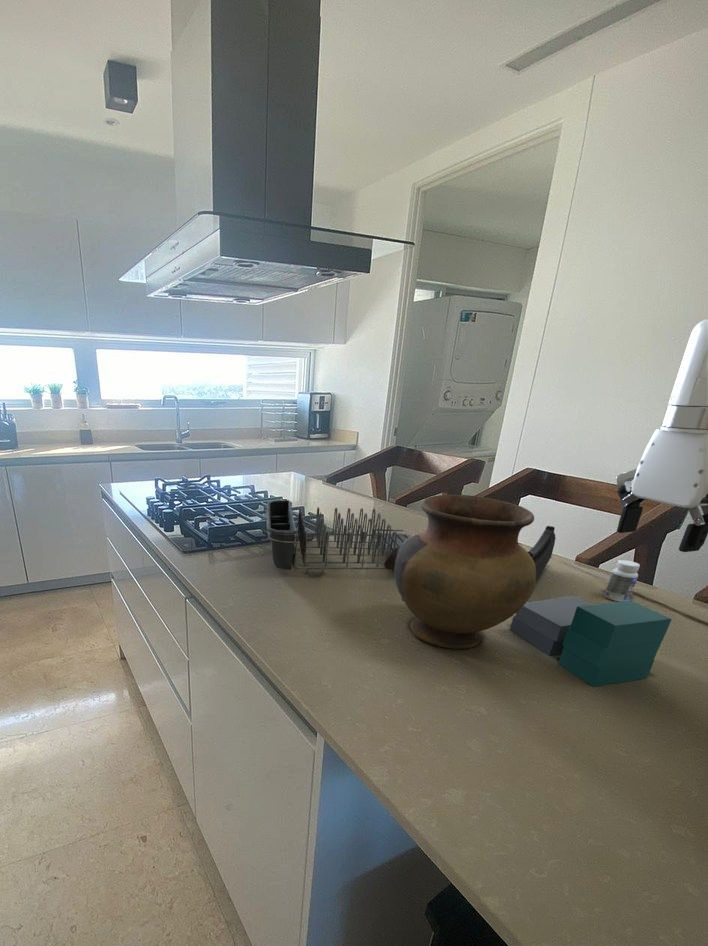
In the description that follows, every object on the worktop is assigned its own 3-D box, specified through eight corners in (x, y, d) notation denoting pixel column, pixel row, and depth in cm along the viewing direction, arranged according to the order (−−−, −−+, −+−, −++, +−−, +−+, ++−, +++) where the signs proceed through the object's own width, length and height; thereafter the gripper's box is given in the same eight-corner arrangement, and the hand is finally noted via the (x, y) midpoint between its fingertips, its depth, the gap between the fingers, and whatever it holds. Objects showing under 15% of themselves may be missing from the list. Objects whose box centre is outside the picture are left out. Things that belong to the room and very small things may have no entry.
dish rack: (265, 536, 146) (266, 497, 141) (412, 540, 146) (418, 500, 141) (265, 579, 115) (266, 530, 110) (451, 584, 115) (461, 535, 110)
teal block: (622, 621, 83) (630, 600, 81) (662, 641, 77) (672, 618, 75) (569, 627, 80) (576, 605, 79) (606, 648, 74) (615, 625, 73)
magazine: (529, 566, 101) (565, 501, 118) (513, 562, 103) (550, 499, 120) (516, 627, 111) (550, 560, 128) (501, 623, 113) (537, 557, 130)
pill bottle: (629, 604, 107) (642, 568, 103) (604, 599, 109) (616, 563, 105) (628, 597, 110) (641, 562, 107) (603, 592, 112) (615, 557, 109)
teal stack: (608, 655, 86) (621, 620, 83) (647, 678, 80) (663, 641, 77) (555, 663, 83) (566, 627, 81) (591, 687, 77) (605, 649, 74)
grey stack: (568, 622, 98) (577, 595, 95) (614, 648, 89) (625, 618, 86) (508, 629, 94) (515, 601, 92) (549, 656, 85) (558, 626, 83)
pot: (366, 650, 86) (384, 512, 76) (385, 599, 106) (401, 485, 96) (522, 682, 78) (566, 533, 68) (511, 620, 98) (543, 498, 88)
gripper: (795, 425, 59) (738, 557, 67) (656, 415, 75) (622, 524, 82) (750, 426, 58) (696, 562, 65) (618, 416, 73) (586, 527, 80)
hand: (655, 540), depth 73 cm, fingers open, 9 cm apart
